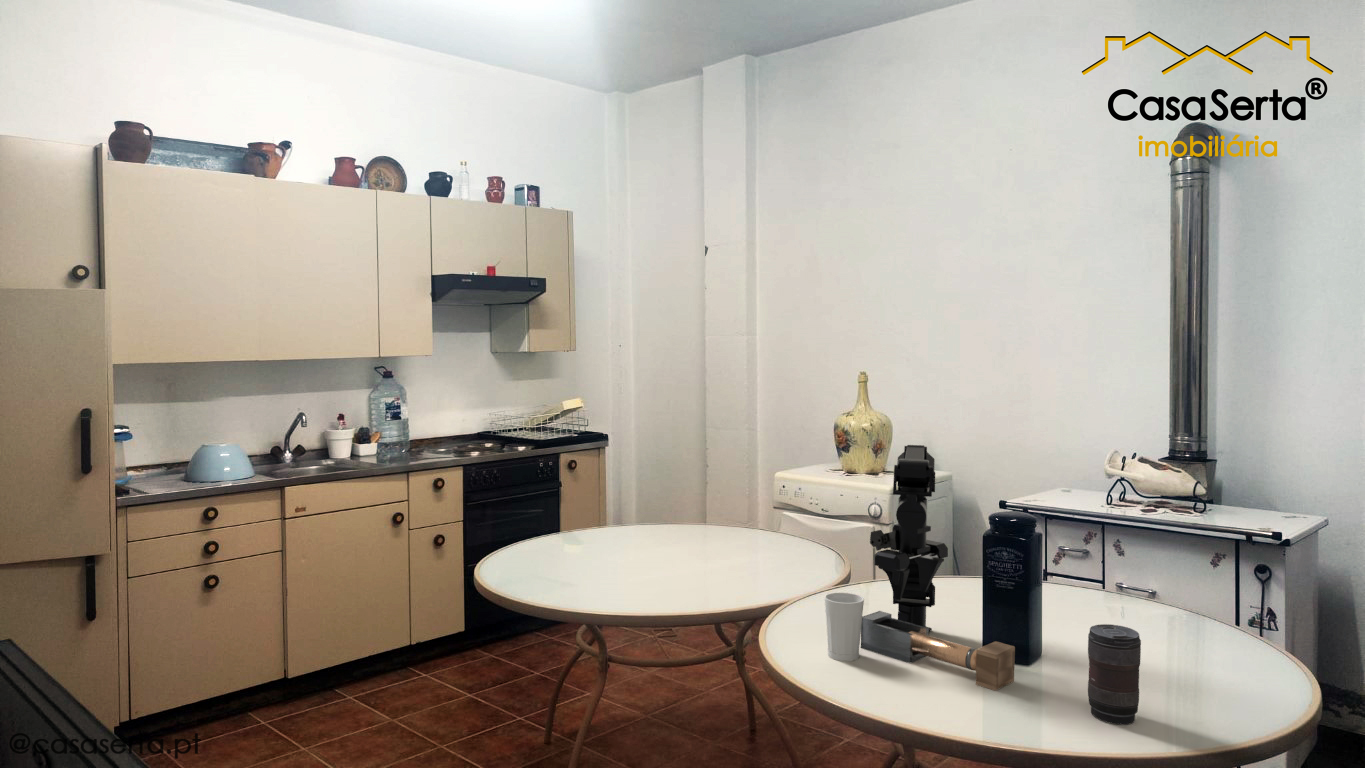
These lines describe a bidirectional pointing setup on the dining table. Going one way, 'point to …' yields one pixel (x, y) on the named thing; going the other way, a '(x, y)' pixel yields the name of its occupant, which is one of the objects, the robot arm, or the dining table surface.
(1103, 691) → the camera lens
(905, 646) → the grey channel holder
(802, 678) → the dining table surface
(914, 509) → the robot arm
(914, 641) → the tube
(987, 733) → the dining table surface
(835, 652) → the cup
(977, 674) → the socket
